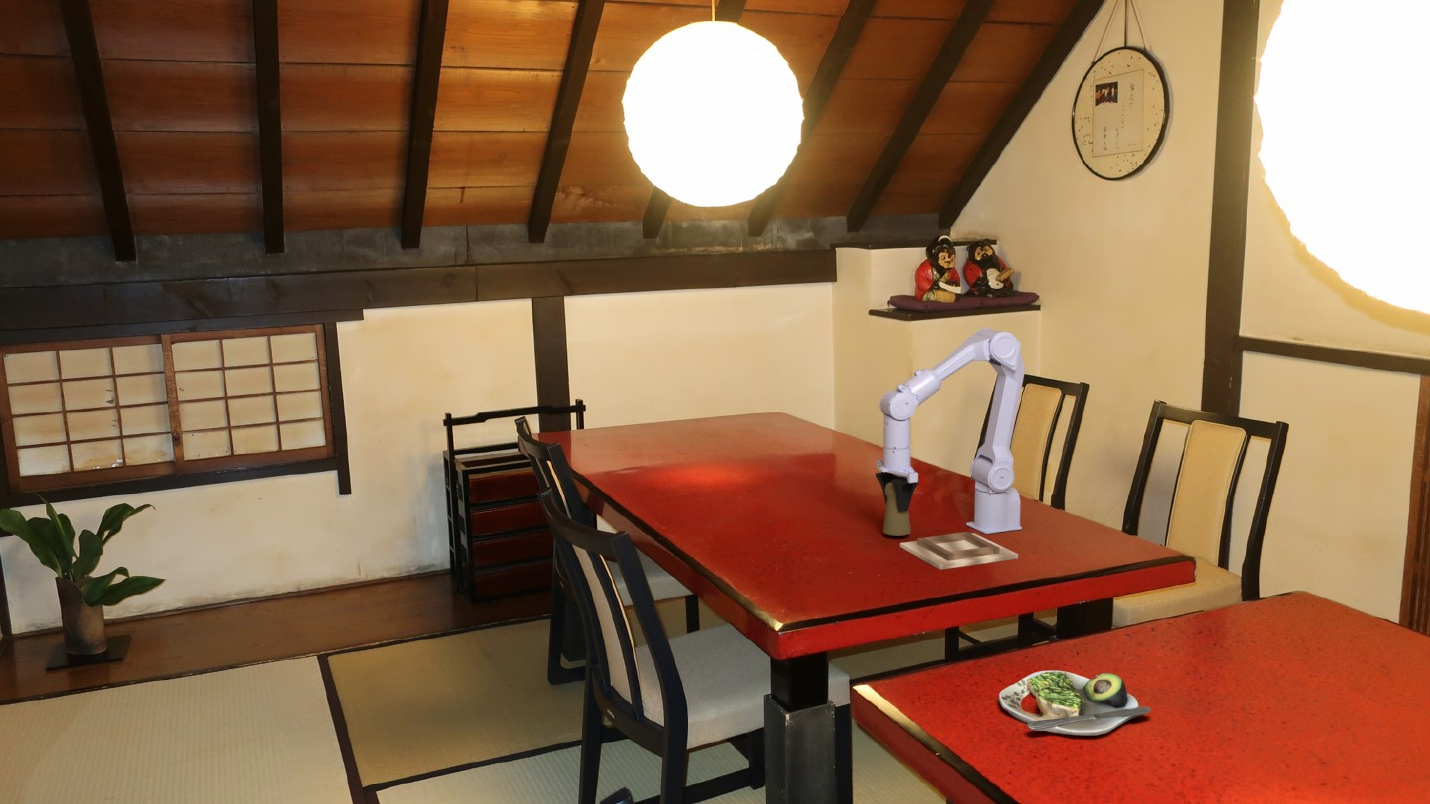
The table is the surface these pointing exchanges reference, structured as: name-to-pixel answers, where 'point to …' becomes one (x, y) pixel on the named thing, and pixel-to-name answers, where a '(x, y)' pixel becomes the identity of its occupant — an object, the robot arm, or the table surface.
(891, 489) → the olive tapered peg
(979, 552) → the socket board
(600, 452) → the table surface
